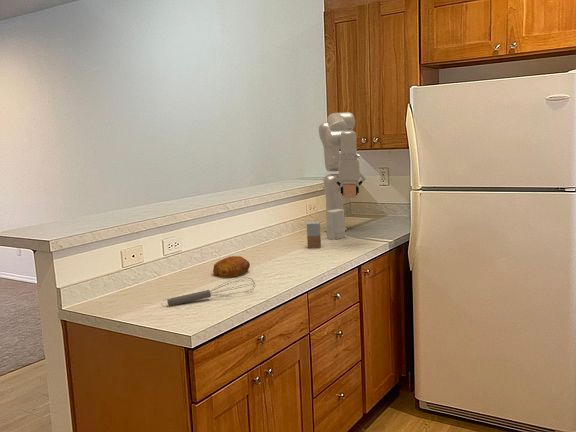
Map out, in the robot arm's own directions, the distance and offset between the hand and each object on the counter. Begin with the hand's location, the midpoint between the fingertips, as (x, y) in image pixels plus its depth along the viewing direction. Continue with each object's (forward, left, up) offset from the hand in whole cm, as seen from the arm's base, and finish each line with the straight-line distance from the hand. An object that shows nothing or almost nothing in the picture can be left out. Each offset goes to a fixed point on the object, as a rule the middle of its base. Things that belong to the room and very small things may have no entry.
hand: (349, 194), depth 278 cm
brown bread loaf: (+50, -49, -25) cm, 75 cm away
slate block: (+2, -18, -19) cm, 26 cm away
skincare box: (-19, -8, -25) cm, 32 cm away
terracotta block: (0, 0, -1) cm, 1 cm away
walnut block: (+2, -18, -25) cm, 31 cm away
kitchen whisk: (+87, -48, -25) cm, 102 cm away
